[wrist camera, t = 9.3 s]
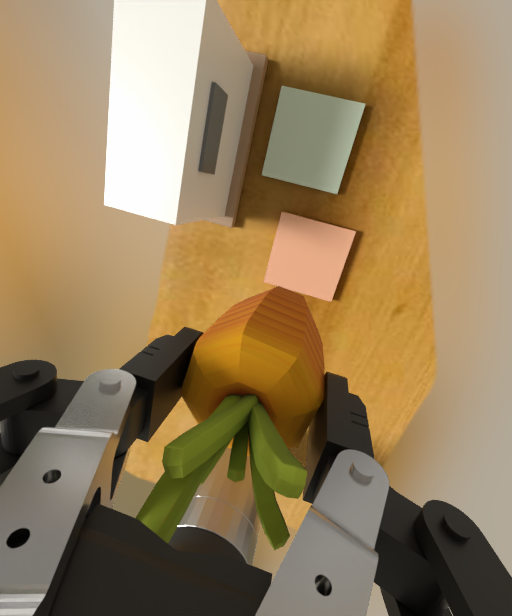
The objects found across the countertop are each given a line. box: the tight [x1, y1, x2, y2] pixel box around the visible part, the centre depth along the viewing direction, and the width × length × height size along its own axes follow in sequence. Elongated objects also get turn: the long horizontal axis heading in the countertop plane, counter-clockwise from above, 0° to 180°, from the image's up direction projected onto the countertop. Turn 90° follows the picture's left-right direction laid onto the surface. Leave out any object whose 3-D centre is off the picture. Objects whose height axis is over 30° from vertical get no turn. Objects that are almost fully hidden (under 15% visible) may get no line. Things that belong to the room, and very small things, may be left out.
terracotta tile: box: [264, 212, 356, 302], centre depth 35 cm, size 8×8×1 cm
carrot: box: [136, 286, 325, 550], centre depth 13 cm, size 5×5×15 cm
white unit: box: [104, 0, 268, 228], centre depth 27 cm, size 16×8×13 cm, turn 166°
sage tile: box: [262, 86, 365, 194], centre depth 31 cm, size 8×8×1 cm
